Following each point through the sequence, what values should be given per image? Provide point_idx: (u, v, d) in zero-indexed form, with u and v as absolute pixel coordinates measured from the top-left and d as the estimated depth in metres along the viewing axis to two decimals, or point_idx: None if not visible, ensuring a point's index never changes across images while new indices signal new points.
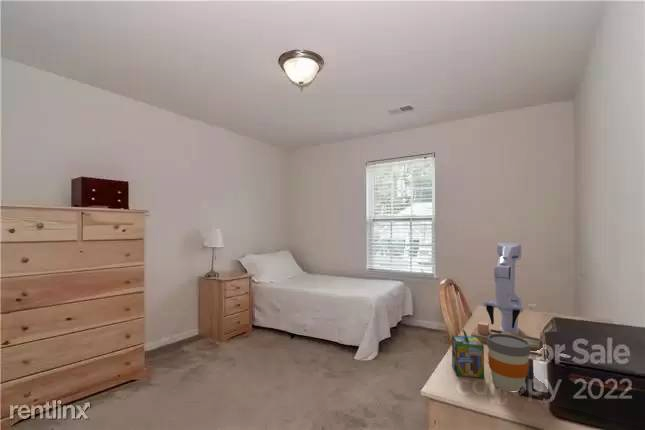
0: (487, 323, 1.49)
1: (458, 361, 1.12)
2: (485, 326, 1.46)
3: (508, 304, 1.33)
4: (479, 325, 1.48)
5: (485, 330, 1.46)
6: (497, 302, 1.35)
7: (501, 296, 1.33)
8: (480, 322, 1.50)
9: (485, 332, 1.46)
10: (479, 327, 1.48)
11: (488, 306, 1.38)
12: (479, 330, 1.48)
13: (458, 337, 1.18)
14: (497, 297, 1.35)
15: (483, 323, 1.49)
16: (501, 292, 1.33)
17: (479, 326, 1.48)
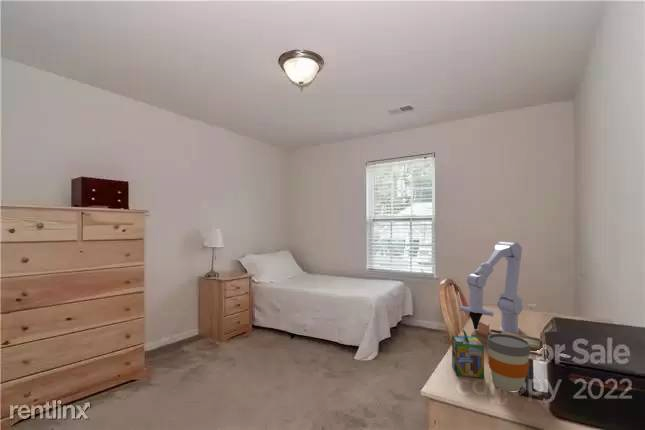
0: (488, 323, 1.48)
1: (458, 361, 1.12)
2: (486, 326, 1.46)
3: (480, 309, 1.48)
4: (480, 325, 1.48)
5: (486, 330, 1.46)
6: (471, 307, 1.50)
7: (474, 302, 1.48)
8: (481, 322, 1.50)
9: (486, 332, 1.46)
10: (480, 327, 1.48)
11: None
12: (480, 330, 1.48)
13: (458, 337, 1.18)
14: (471, 303, 1.50)
15: (484, 323, 1.48)
16: (471, 298, 1.50)
17: (479, 326, 1.48)
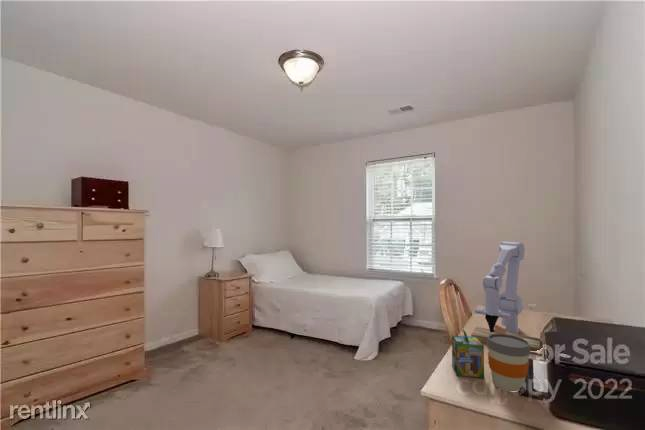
0: (504, 326, 1.44)
1: (458, 361, 1.12)
2: (502, 329, 1.42)
3: (497, 312, 1.44)
4: (496, 328, 1.44)
5: (503, 333, 1.42)
6: (487, 310, 1.46)
7: (490, 304, 1.44)
8: (497, 325, 1.46)
9: None
10: (496, 330, 1.44)
11: (478, 313, 1.49)
12: (496, 333, 1.44)
13: (458, 337, 1.18)
14: (486, 305, 1.46)
15: (500, 326, 1.44)
16: (488, 300, 1.45)
17: (496, 329, 1.44)
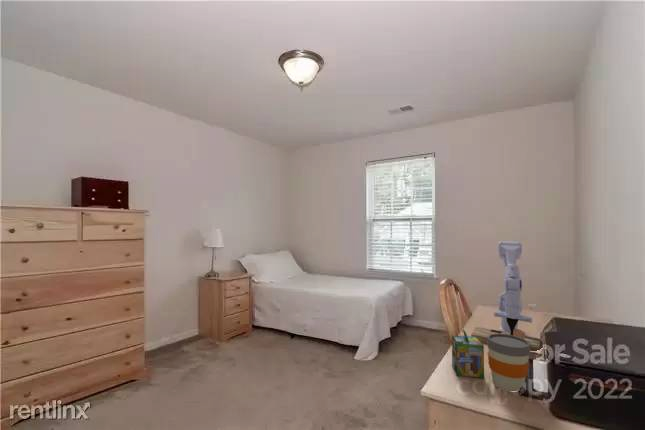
0: (523, 330, 1.40)
1: (458, 361, 1.12)
2: (522, 333, 1.38)
3: (518, 315, 1.39)
4: (515, 331, 1.39)
5: (522, 337, 1.38)
6: (507, 313, 1.41)
7: (511, 307, 1.40)
8: (516, 328, 1.41)
9: None
10: (515, 333, 1.39)
11: None
12: None
13: (458, 337, 1.18)
14: (507, 308, 1.41)
15: (519, 330, 1.40)
16: (512, 304, 1.39)
17: (514, 332, 1.39)
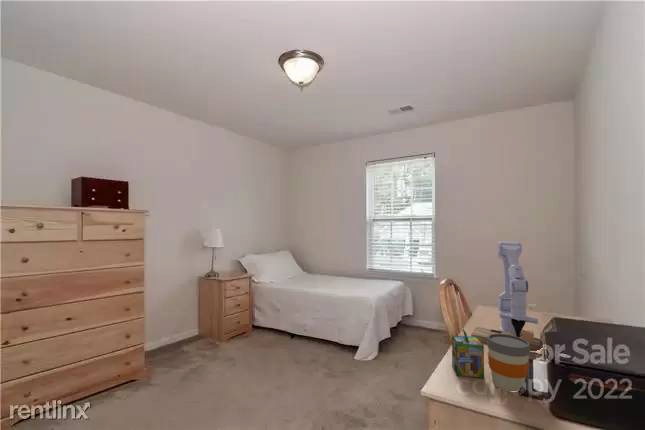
0: (532, 331, 1.39)
1: (458, 361, 1.12)
2: (531, 335, 1.36)
3: (524, 316, 1.38)
4: (524, 334, 1.37)
5: (532, 339, 1.36)
6: (513, 314, 1.40)
7: (517, 309, 1.38)
8: (524, 330, 1.40)
9: (531, 341, 1.36)
10: (524, 336, 1.37)
11: (504, 318, 1.43)
12: (524, 339, 1.37)
13: (458, 337, 1.18)
14: (513, 309, 1.40)
15: (528, 331, 1.38)
16: (519, 305, 1.38)
17: (524, 334, 1.38)
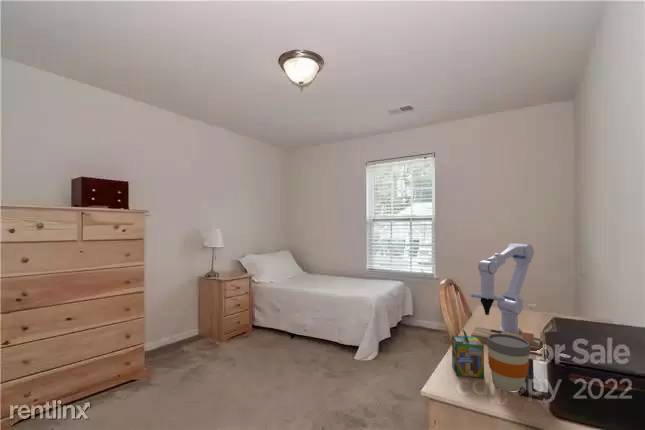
0: (532, 331, 1.39)
1: (458, 361, 1.12)
2: (531, 335, 1.36)
3: (492, 295, 1.49)
4: (524, 334, 1.37)
5: (532, 339, 1.36)
6: (482, 293, 1.51)
7: (485, 288, 1.49)
8: (524, 330, 1.40)
9: (531, 341, 1.36)
10: (524, 336, 1.37)
11: None
12: (524, 339, 1.37)
13: (458, 337, 1.18)
14: (482, 289, 1.51)
15: (528, 331, 1.38)
16: (482, 284, 1.50)
17: (524, 334, 1.38)
